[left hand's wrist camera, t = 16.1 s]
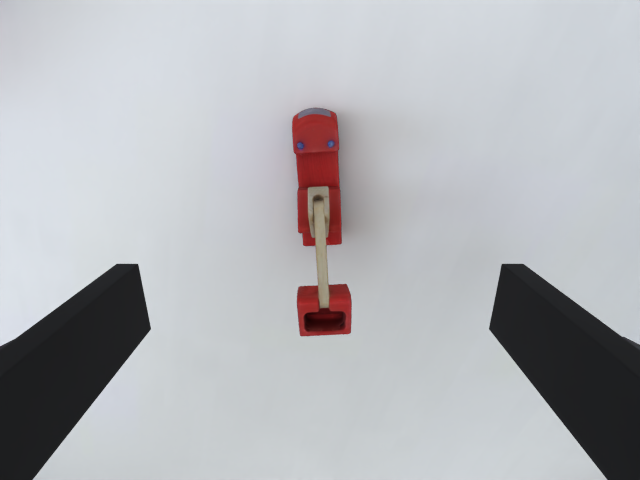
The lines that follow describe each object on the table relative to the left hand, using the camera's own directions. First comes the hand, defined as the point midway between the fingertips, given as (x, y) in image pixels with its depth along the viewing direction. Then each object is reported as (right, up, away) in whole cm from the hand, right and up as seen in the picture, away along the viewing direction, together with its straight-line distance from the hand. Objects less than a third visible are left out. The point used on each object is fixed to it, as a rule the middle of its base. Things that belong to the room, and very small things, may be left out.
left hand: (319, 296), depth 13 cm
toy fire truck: (0, +5, +15) cm, 16 cm away
